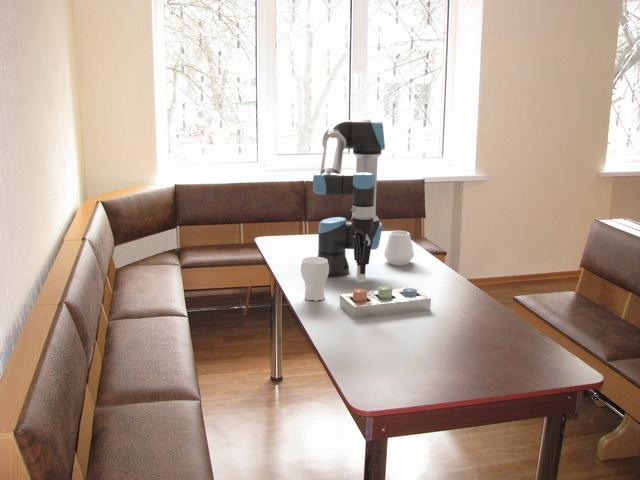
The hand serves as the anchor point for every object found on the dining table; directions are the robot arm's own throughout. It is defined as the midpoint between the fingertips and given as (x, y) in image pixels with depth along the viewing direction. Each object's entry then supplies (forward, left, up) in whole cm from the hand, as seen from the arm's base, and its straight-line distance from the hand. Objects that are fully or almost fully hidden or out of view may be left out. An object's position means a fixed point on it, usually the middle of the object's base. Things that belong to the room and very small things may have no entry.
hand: (360, 281), depth 238 cm
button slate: (0, +20, -10) cm, 22 cm away
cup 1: (-18, -11, -11) cm, 24 cm away
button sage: (0, +10, -9) cm, 13 cm away
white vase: (-53, +41, -11) cm, 68 cm away
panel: (0, +10, -11) cm, 15 cm away
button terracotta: (0, 0, -9) cm, 9 cm away
